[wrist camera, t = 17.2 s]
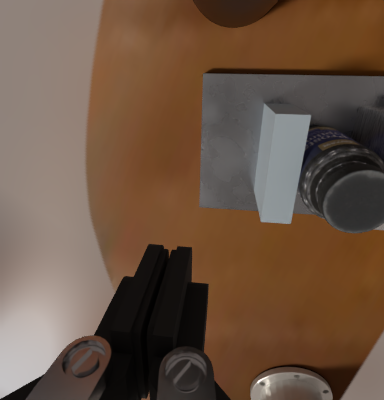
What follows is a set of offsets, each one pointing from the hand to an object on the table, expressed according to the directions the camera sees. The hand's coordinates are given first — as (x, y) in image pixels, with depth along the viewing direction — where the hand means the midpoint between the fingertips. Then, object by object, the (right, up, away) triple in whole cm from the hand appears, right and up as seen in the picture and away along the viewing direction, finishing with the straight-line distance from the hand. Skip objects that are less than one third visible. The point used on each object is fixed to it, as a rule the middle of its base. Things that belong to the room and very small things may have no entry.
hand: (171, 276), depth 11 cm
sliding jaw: (+9, +8, +17) cm, 21 cm away
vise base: (+11, +8, +18) cm, 23 cm away
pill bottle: (+13, +8, +17) cm, 23 cm away
